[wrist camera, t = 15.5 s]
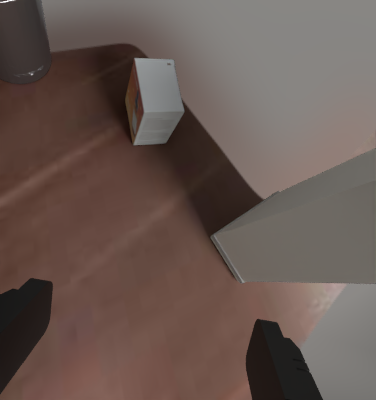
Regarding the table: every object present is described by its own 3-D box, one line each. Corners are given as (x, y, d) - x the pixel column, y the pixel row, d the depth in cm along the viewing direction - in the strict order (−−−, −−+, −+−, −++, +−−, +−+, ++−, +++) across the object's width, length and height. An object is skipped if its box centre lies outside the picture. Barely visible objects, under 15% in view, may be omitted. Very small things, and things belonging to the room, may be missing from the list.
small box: (124, 100, 49) (133, 55, 39) (158, 100, 51) (174, 57, 41) (132, 146, 47) (142, 112, 37) (166, 144, 49) (185, 111, 39)
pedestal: (237, 283, 47) (488, 290, 17) (208, 236, 47) (405, 166, 18) (298, 235, 52) (569, 178, 23) (272, 193, 53) (504, 85, 23)
